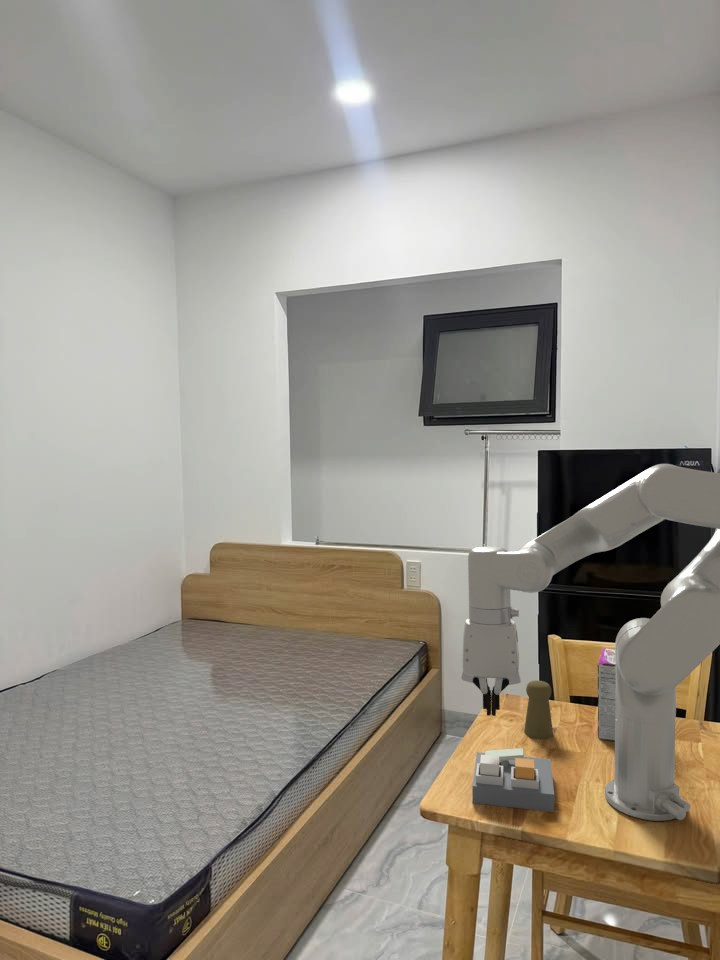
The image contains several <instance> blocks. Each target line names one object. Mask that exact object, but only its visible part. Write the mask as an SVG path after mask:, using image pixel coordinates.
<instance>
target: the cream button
mask: <svg viewBox="0 0 720 960" xmlns="http://www.w3.org/2000/svg"><path fill="white" fill-rule="evenodd" d="M480 774H484V775H494V776H499V756H490V755H481V759H480Z"/></svg>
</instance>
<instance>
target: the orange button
mask: <svg viewBox="0 0 720 960" xmlns="http://www.w3.org/2000/svg"><path fill="white" fill-rule="evenodd" d="M515 778H524V779H534V760H533V759H522V758H515Z"/></svg>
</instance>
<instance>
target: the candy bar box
mask: <svg viewBox="0 0 720 960" xmlns="http://www.w3.org/2000/svg"><path fill="white" fill-rule="evenodd" d="M615 706H616V662H615V648H607V647H603V648H602V649H601V652H600V655H599V659H598V661H597V738H598V739H599V740H603V741H610V742H611V741H612V742H615Z"/></svg>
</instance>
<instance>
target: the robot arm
mask: <svg viewBox="0 0 720 960" xmlns="http://www.w3.org/2000/svg"><path fill="white" fill-rule="evenodd" d="M665 520H667V521H672V522H677V523H683V524H686V525H687V524H688V525H692V526H693V525H694V526H699V527H705V528H711V529H712V528H713V529H715V531H714V533H713V535H712V537H711V538H710V539H709V541H708V542H707V543H706V544H705V546H704V547H703V548H702V549H701V551H700V552H699V553H698V554H697V555H696V556H695V557H694V558H693V559H692V560H691V562H690V563H689V564H688V565H686V566H685V567H684V568H683V569H682V570H681V571H680V572H679V573H678V575H676V576H675V577H674V578H673V579H672V580H671V581H669V582H668V583H667V585H666V586H665V587H664V589H663V591H662V593H661V594H660V595H661V596H660V609H658V610H657V611H656V613H655V614H653V616H652V617H651V618H649V617H648V618H647V617H640V618H635V619H632V620H629V621H628V622H626V623H625V624H624V625H623V626H622V627H621V628H620V630H619V631H618V633H617V635H616V638H615V644H614V646H615V647H614V649H615V662H616V706H615V741H614V779H613V780H611V781H609V782H608V783H606V785H605V787H604V797H605V799H606V801H607V802H608V803H609V804H610V805H611V806H612V807H613V808H614V809H616V810H618V811H619V812H621V813H623V814H626V815H628V816H629V817H633V818H637V819H640V820H645V821H653V822H654V821H656V822H661V821H662V822H663V821H671V820H674V819H677V820H678V821H683V820H684V819H685V817H686V816H687V812H689V811H690V810H691V804H690V803H689V802H688V801H686V800H685V799H683V797H682V795H680V786H679V785H677V784H676V783H675V773H676V771H675V769H676V768H675V767H676V766H675V765H676V764H675V761H676V757H675V756H676V749H675V748H676V718H677V716H676V715H677V686H678V685H680V683H682V682H683V681H684V680H685V679H686V678H688V677H689V675H690V674H691V673H692V672H693V671H694V670H695V669H696V668H697V667H699V666H700V665H701V664H702V663H703V662H704V661H705V660H706V659H707V658H708V657H709V656H710V655H711V654H712V653H713V652H714V651H715V650H716V649H717V648H718V646H719V645H720V472H713V471H706V470H705V471H704V470H698V469H692V468H688V467H682V466H679V465H676V464H675V465H674V464H671V463H659V464H655V465H653V466H651V467H649V468H647V469H645V470H644V471H642V472H640V473H638V474H637V475H635V476H634V477H632V478H630V479H629V480H627V481H625V482H624V483H622V484H621V485H618V486H617V487H616V488H615V489H612V490H611V491H609V492H608V493H606V494H604V495H603V496H601V497H600V498H598V499H596V500H595V501H593V502H591V503H589V504H588V505H586V506H585V507H583V508H582V509H580V510H578V511H577V512H575V513H574V514H573V515H572V516H569V518H567V519H566V520H564V521H562V522H560V523H558V524H556V525H554V526H553V527H552V528H550V529H549V530H547V531H545V532H544V533H541V535H539V536H537V537H535V538H534V539H532V540H531V541H529V542H527V543H526V544H524V545H523V546H522V547H520V548H519V550H517V551H508V550H507V549H506V548H503V547H499V546H478V547H473V548H472V549H471V550H469V553H468V556H467V557H468V558H467V570H468V572H467V574H468V576H467V578H468V617H469V618H467V619H465V621H464V622H465V624H464V629H463V638H462V639H463V640H462V673H461V680H462V681H463V682H468V683H471V684H473V685H475V687H477V688H478V689H479V691H480V693H481V694H482V709H483V710H486V716H493V717H496V714H497V711H500V710H501V709H500V707H501V702H500V700H501V699H500V698H501V697H500V695H501V693H502V692H503V690H505V689H506V688H507V687H508V686H511V685H512V686H513V685H518V684H520V683H521V681H522V679H521V674H520V671H519V669H520V652H519V639H518V630H517V625H516V621H514V620H513V618H515V617H517V618H519V617H520V615H519V609H518V608H513V606H511V600H512V599H511V590H512V591H516V592H522V593H528V594H529V593H530V594H533V593H539V592H541V591H544V590H545V589H546V588H547V587H548V586H549V584H550V583H551V582H552V578H553V576H554V575H556V574H558V573H559V572H560V571H562V570H564V569H566V568H568V567H569V566H570V565H572V564H574V563H575V562H577V561H579V560H582V559H584V558H586V557H588V556H590V555H592V554H595V553H601V552H607V551H611V550H613V549H615V548H618V547H620V546H622V545H624V544H625V543H626V542H629V541H630V540H632V539H633V538H635V537H636V536H638V535H639V534H641V533H643V532H645V531H646V530H649V529H650V528H652V527H653V526H655V525H658V524H659V523H661V522H663V521H665ZM489 678H490V679H494V680H495V681H494V685H493V686H492V689H491V687H490V686H489V681H488V679H489Z"/></svg>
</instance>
